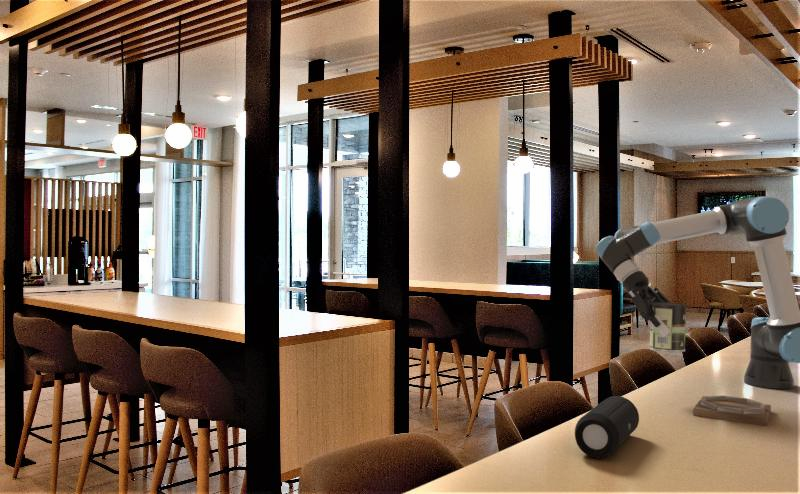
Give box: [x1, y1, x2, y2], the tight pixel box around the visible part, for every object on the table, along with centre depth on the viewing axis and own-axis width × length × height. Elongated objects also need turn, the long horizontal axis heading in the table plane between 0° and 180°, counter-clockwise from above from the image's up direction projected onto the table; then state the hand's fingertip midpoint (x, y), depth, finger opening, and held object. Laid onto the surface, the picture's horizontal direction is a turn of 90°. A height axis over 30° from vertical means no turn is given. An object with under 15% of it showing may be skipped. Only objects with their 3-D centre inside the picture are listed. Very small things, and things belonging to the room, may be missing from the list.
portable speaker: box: [574, 395, 640, 459], centre depth 162 cm, size 26×10×10 cm, turn 149°
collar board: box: [692, 394, 772, 427], centre depth 195 cm, size 18×18×3 cm
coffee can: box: [649, 301, 687, 353], centre depth 209 cm, size 10×10×14 cm
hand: (676, 333), depth 207 cm, fingers closed on coffee can, 10 cm apart
